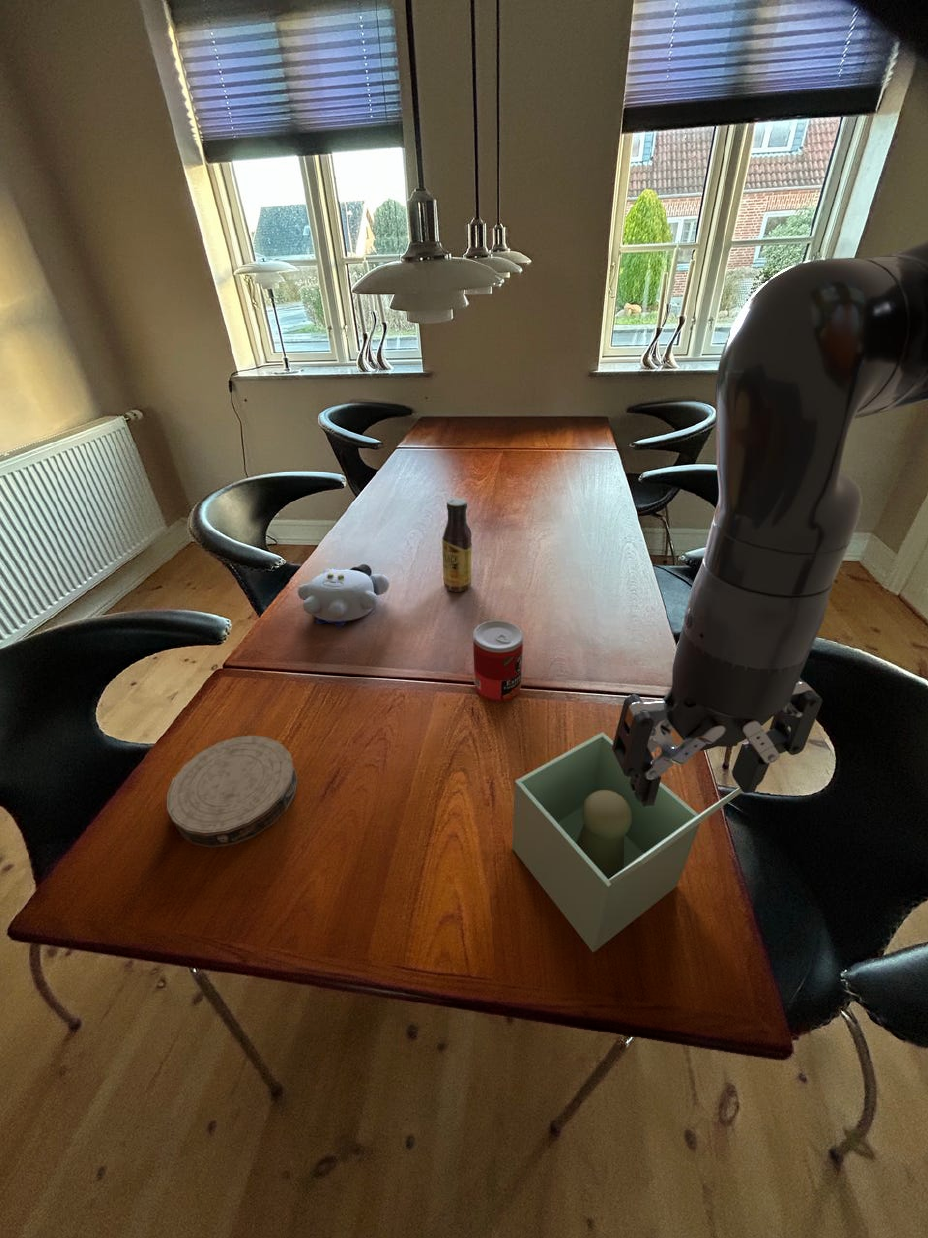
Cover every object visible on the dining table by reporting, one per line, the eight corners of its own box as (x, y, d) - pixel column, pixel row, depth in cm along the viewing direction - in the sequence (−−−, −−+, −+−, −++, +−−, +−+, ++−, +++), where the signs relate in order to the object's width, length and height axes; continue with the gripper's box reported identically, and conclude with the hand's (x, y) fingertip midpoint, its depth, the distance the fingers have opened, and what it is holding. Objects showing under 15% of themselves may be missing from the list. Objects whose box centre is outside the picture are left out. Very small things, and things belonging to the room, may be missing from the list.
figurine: (363, 637, 101) (403, 594, 118) (359, 597, 97) (400, 558, 114) (284, 625, 105) (332, 585, 122) (276, 586, 101) (328, 550, 118)
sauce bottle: (438, 585, 117) (432, 500, 106) (460, 576, 120) (457, 492, 109) (456, 597, 113) (452, 509, 102) (478, 587, 116) (477, 501, 105)
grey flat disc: (183, 764, 77) (176, 749, 75) (296, 739, 80) (291, 725, 79) (163, 862, 64) (155, 848, 62) (298, 828, 68) (293, 813, 66)
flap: (702, 812, 53) (705, 815, 53) (608, 880, 47) (611, 885, 47) (740, 786, 47) (744, 790, 47) (639, 860, 42) (643, 864, 42)
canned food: (509, 709, 84) (511, 654, 78) (465, 693, 88) (463, 640, 81) (528, 680, 90) (531, 627, 84) (486, 667, 93) (485, 615, 87)
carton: (677, 885, 60) (702, 817, 53) (593, 953, 54) (608, 887, 47) (591, 798, 70) (602, 732, 63) (512, 848, 64) (514, 781, 57)
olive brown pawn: (568, 881, 60) (576, 822, 54) (573, 835, 65) (582, 776, 59) (622, 894, 59) (638, 835, 53) (624, 846, 64) (638, 787, 57)
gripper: (667, 678, 31) (627, 844, 40) (892, 651, 32) (804, 818, 41) (618, 609, 37) (593, 766, 46) (808, 589, 38) (748, 746, 47)
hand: (693, 791), depth 43 cm, fingers open, 8 cm apart
